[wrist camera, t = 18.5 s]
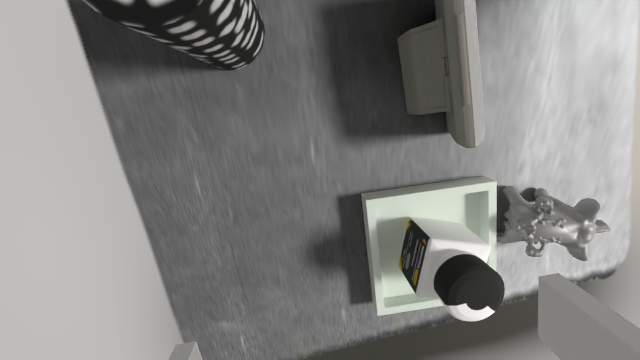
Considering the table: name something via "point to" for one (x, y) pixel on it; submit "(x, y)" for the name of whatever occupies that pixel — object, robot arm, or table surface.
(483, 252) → the medicine bottle
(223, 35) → the spotted tube
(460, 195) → the tray
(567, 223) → the elephant statuette
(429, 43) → the digital clock
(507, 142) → the table surface
